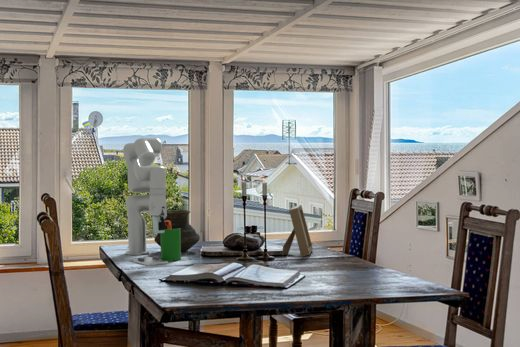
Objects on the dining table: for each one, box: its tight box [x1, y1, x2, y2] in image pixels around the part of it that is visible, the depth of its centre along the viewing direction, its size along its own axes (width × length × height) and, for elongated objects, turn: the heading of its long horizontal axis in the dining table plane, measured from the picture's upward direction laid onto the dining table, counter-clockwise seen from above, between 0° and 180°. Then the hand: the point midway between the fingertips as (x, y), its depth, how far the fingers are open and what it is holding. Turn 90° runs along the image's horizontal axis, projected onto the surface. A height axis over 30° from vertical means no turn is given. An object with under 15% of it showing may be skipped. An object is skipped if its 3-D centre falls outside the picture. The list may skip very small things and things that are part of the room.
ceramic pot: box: [154, 209, 201, 254], centre depth 372 cm, size 24×24×22 cm
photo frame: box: [281, 204, 313, 258], centre depth 360 cm, size 15×22×25 cm
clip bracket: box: [128, 255, 169, 267], centre depth 338 cm, size 20×11×2 cm, turn 37°
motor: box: [160, 221, 182, 262], centre depth 346 cm, size 10×9×20 cm
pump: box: [152, 216, 164, 234], centre depth 328 cm, size 6×6×10 cm
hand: (158, 229), depth 328 cm, fingers closed on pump, 5 cm apart
